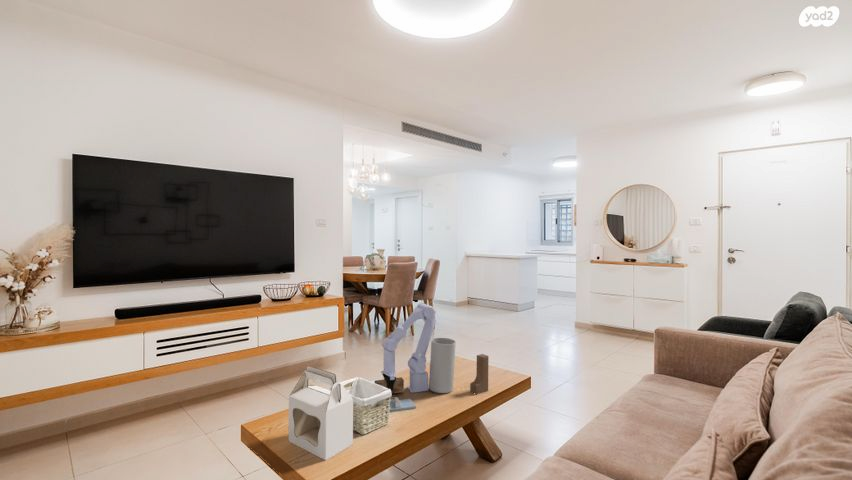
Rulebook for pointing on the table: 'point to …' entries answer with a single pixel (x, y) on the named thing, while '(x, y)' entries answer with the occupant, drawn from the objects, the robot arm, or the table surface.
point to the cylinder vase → (442, 365)
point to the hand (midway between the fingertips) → (389, 389)
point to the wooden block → (480, 375)
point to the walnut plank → (397, 385)
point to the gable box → (320, 415)
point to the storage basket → (368, 404)
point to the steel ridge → (396, 402)
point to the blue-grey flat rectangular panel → (402, 405)
